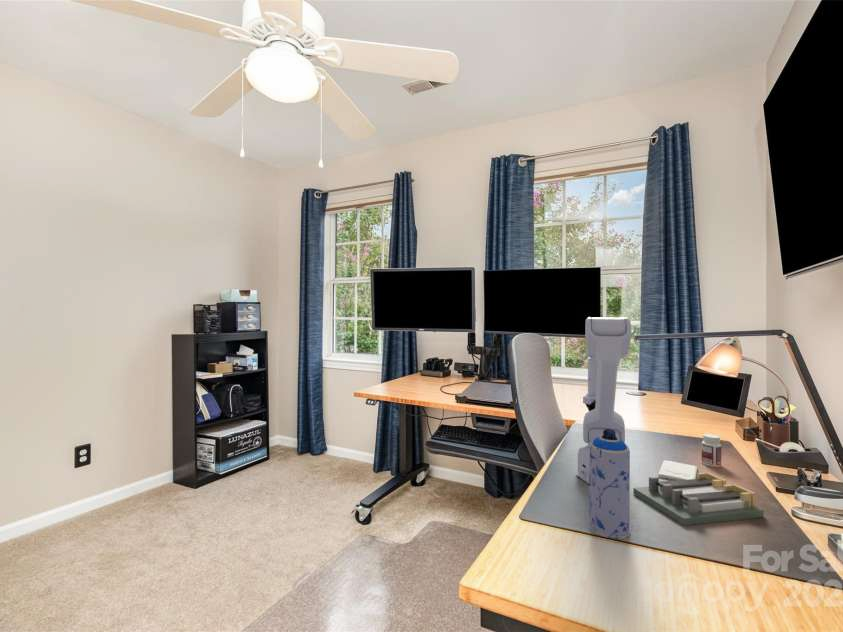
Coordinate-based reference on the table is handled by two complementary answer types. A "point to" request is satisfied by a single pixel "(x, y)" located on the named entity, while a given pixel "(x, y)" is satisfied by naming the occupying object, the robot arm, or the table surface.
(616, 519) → the aerosol can
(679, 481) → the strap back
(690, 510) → the board
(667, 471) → the external hard drive
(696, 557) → the table surface
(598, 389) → the robot arm
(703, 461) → the pill bottle
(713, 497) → the strap front
